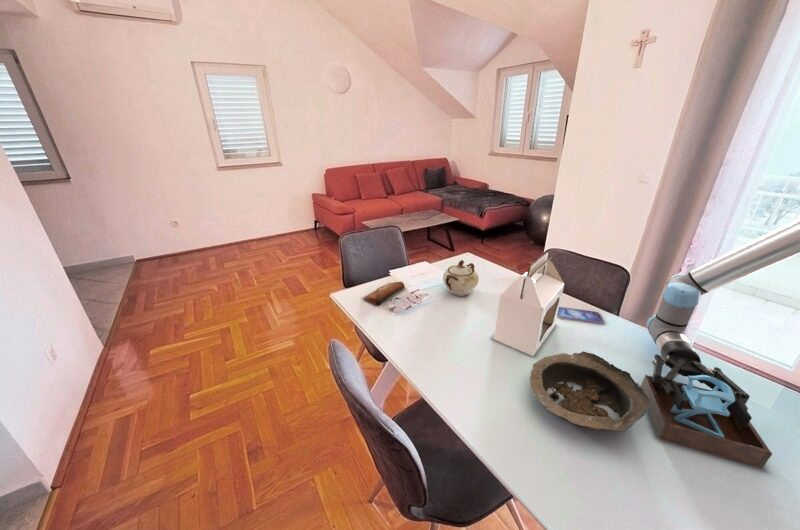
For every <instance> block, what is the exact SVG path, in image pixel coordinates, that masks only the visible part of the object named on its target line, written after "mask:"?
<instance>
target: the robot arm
mask: <svg viewBox="0 0 800 530" xmlns="http://www.w3.org/2000/svg"><path fill="white" fill-rule="evenodd" d="M797 255H800V215H799V216H798V218H797V219H795V220H792V221H790V222H789V223H787V224H784V225H783V226H781V227H778V228H776V229H775V230H772V231H771V232H768V233H766V234H764V235H761V236H760V237H758V238H756V239H753V240H752V241H750V242H747V243H746V244H743V245H741V246H739V247H737V248H735V249H733V250H731V251H729V252H727V253H725V254H723V255H721V256H719V257H717V258H715V259H712V260H711V261H708V262H707V263H704V264H702V265H700V266H698V267H696V268H694V269H692V270H690V271H688V272H685V273H678V274H675V275H673V276H671V277H670V278H669V279H668V281H666V284H665V289H664V291H663V293H662V297H661V300H660V302H659V306H658V309H657V311H656V313H655V314H654V315H652V316H651V317H649V318H648V319H647V320H646V321H647V322H646V328H647V330H648V334H649V335H650V337H651V338H652V340H653V342H654V344H655V346H656V349H657V350H658V353H659V354H658V353H656V354H654V356H653V359H652V365H653V372H652V376H653V378H652V382H653V383H656V384H658V383H660V384H662V385H661V388H662V389H663V390H665V391H666V393H667V394H668V395H671V396H672V399H673V401H674V403H675V405H676V407H677V409H679V410H682V408H683V406H684V404H685V402H686V401H685V399H684V397H683V395H682V393H681V391H680V389H679V387H678V385H677V383H676V382H677V381H675V379H676V378H678V376H679V375H680V376H681V377H686V378H688V376H697V375H707V376H710V377H712V378H715V379H718V380H720V381H722V382H724V383H726V384H727V385H728V386H729V387H730V388H731V389H732V391H733V394H734V397H735V402H733V403H732V404H730V405H729V407H730V409H731V410H732V412H733V413H734V415H735V416H736V418H737V419H738V421H739V422H740V424H741V425H742V426H745V427H747V425H748V423H749V422H750V423H751V420H752V419H753V417H752V415H751V414H750V413H749V411H748V410H749V408H748V406H747V405H746V404H747V402H748V401H749V400H750V397H751V395H750V394H748V393H747V392H746V391H745V390H744V389H743V388H742V387H740V386H739V385H738V384H736V383H735V382H734V381H733V380H732V379H730V378H729V377H728V376H727V375H726V374H725V373H724V372H723V371H722V369H721V368H720V367H717V366H714V367H713V368H709V367H707V366H706V365H705V364H703V363H702V361H701V357H700V355H699V354H698V352H697V351H696V349H695V348H694V346H693V345H692V343H691V341H690V340H689V338H687V336H686V334H685V332H686V329H687V327H688V325H689V322H690V320H691V318H692V315H693V314H694V311H695V309H696V308H697V306H698V304H699V301H700V297H701V296H703V295H705V294H707V293H710V292H712V291H713V290H716V289H719V288H721V287H724V286H726V285H729V284H732V283H733V282H735V281H738V280H740V279H742V278H745V277H748V276H750V275H753V274H754V273H758V272H759V271H762V270H764V269H766V268H769V267H771V266H773V265H776V264H778V263H781V262H783V261H785V260H787V259H791V258H792V257H795V256H797ZM664 365H665V366H666V367H668V368H669V369H670V370H669V371H668V372H667V373H666V375H665V376H662V372H663V366H664ZM696 381H697V382H698V383H700V384H704V385H706V386H707V387H708V388H710V390H713V388H714V387H715V386H716V385H715V384H713V383H712V382H710V381H707V380H696ZM718 391H721V392H723V391H722V390H721V389H720V388H719V389H718Z"/></svg>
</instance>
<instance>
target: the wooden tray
mask: <svg viewBox="0 0 800 530" xmlns="http://www.w3.org/2000/svg"><path fill="white" fill-rule="evenodd" d="M652 378H653V375H648V374H645V375H644V377H643V379H642V382H641V384H640V387H639V388H641V389H642V390H643V393H644V394H646V396H647V397H648V398H649V400H650V401H649V402H650V403H648V404H645V406H646V409H647V412H648V413H649V416H650V419H651V421H652V424H653V427H654V430H655V432H656V435H657V438H658V439H659V440H661V441H665V442H669V443H673V444H676V445H679V446H682V447H686V448H690V449H693V450H696V451H700V452H703V453H707V454H710V455H713V456H716V457H720V458H724V459H727V460H731V461H734V462H737V463H741V464H744V465H748V466H752V467H754V468H758V469H763V468H764V467H765V465H766V463H767V462H768V461H769V460H770V458H771V457H772V455H773V452H771V450H770V449H769V446H767V444H766V443H765V441H764V440H763V438H762V437H761V436H760V433H758V431H757V430H756V428H755V427H754V425H753V424H752V423H751V421H750V422H749V423H748V425H747V427H745V426H742V425H741V424H740V422H739V421H738V419H737V418H736V416H735V415H734V413H733V412H732V410H731V409H730V407H729V406H728V407H727V410H728V411H729V413H730V415H729V417H728V416H724V415H720V414H714V413H710V414H711V415H712V417H713V419H714V420H715V422H716V424H717V425H718V427H719V428H720V430H721V432H722V433H723V435H724V438H722V437H718V436H714V435H711V434H707V433H704V432H702V431H699V430H697V429H695V428H693V427H690V426H688V425H685V424H683V423H680V422H678V421H675V420H674V418H675V416H677V415H680V414H675V413H672V412H671V411H670V410H671V409H672V407H673V406H674V405H675V403H674V401H673V399H672V396H671V395H668V394H667V393H666V391H665V390H663V389H662V388H661V385H662V384H660V383H658V384H656V383H653V382H652ZM676 383H677V385H678V387H679V389H680V391H681V393H682V394H683V390H682V389H681V387H682V385H684V386H687V385H688V383H687V384H686V383H684V382H683V383H682V382H678V381H676ZM692 388H696V389H700V390H705V391H712V390H713V389H707V388H703V387H699V386H695V385H693V386H692ZM720 400H721V401H722V403H725V402H727V401H725V400H723V399H720ZM682 409H693V408H692V407H691V405H690V403H689V401H687V402H686V403H685V404H684V406H683V408H682ZM685 419H687V420H690V421H692V422H694V423H696V424H698V425H701V426H703V427H705V428H707V429H710V430H712V431H714V432H716V431H715V429H714V428H713V426H712V424H711V423H710V421H709V419H708V418H707V416H706V415H703V414H697V415H694V416H691V417H688V418H685Z"/></svg>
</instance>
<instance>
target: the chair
mask: <svg viewBox="0 0 800 530" xmlns="http://www.w3.org/2000/svg"><path fill="white" fill-rule="evenodd" d="M687 378H688V383H687V386H684V385H682V387H681V389H682V390H683V394H682V395H683V397H684V399H685V401H686V402H687V401H689V403H690V405H691V407H692V408H693V409H682V410H679V409H677V407H676V405H674V406H673V407H672V409H671V410H670V411H671V412H672V413H675V414H680V415H677V416H675V418H674V420H675V421H678V422H680V423H683V424H685V425H688V426H690V427H693V428H695V429H697V430H699V431H702V432H704V433H707V434H711V435H714V436H718V437H722V438H724V435H723V433H722V432H721V430H720V428H719V427H718V425H717V424H716V422H715V420H714V419H713V417H712V415H711V414H710V413H714V414H720V415H724V416H728V417H729V415H730V413H729V411H728V410H727V407H728V406H729V405H730V404H732V403H733V402H735V397H734V394H733V391H732V389H731V388H730V387H729V386H728V385H727V384H726V383H724V382H722V381H720V380H718V379H715V378H712V377H710V376H707V375H697V376H688V377H687ZM697 380H707V381H710V382H712V383H713V384H715V385H716V386H715V387H714V388H713V389H711V390H712V391H705V390H700V389H696V388H692V386H694V383H693V382H694V381H697ZM719 388H720V389H721V390H722V391H723V392H721V391H718V389H719ZM720 399H723V400H725V401H727V402H725V403H722V401H721V400H720ZM686 402H685V403H686ZM697 414H703V415H706V416H707V418H708V419H709V421H710V423H711V424H712V426H713V428H714V429H715V431H716V432H714V431H712V430H710V429H707V428H705V427H703V426H701V425H698V424H696V423H694V422H692V421H690V420H687V419H685V418H688V417H691V416H694V415H697Z"/></svg>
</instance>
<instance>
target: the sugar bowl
mask: <svg viewBox="0 0 800 530" xmlns="http://www.w3.org/2000/svg"><path fill="white" fill-rule="evenodd" d="M464 264H465V261H464V260H463V259H460V260H459V262H458V263H457V264H455V265H450V266H449V267H448V268H446V270H445V271H444V272H443V274H442V281H443V283H444V285H445V287H446V288H447V290H448V291H449V292H450V293H451V294H452V295H454V296H457V297H465V296H467V295H469V294H470V293H471V292H472V291H473V290H474V289H475V288H476V287H477V285H478V284H479V280H480V279H479V275H478V272H476V269H475V264H474V263H472V262H471V263H468V264H465V265H464Z"/></svg>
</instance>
